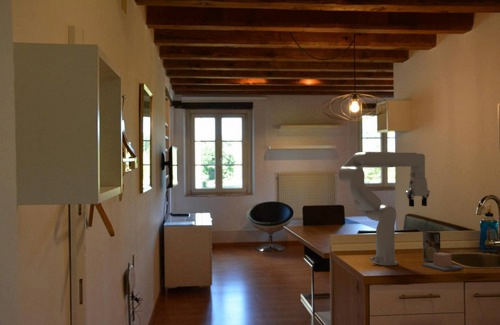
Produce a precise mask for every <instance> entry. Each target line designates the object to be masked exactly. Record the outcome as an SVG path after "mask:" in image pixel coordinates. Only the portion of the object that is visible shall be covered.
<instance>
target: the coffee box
mask: <svg viewBox="0 0 500 325" xmlns="http://www.w3.org/2000/svg"><path fill="white" fill-rule="evenodd" d="M441 252H442V250H441V232H440V231H438V230H437V231H436V230H435V231H433V230H432V231H431V230H423V231H422V261H423V262H433V253H441Z"/></svg>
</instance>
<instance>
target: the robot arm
mask: <svg viewBox="0 0 500 325" xmlns="http://www.w3.org/2000/svg"><path fill="white" fill-rule="evenodd" d="M397 167H398V168H399V167H404V168H405V167H408V168H409V167H410V174H409V176H410V178H409V182H408V189H407V190H405V195H406V197H407V199H408V207H413V208H414V207H415V199H414V198H415V197H421V206H422V207H427V205H428V201H427V200H428V199H429V196H430V192H431V191H430V190H429V189H428V182H427V178H426V156H425V154H424V153H418V152H398V151H397V152H394V151H360V152H355V153H354V154H353V155H352V156H351V157H350V158H349V159H348V160H347V161H346V162H345V163H344V164H343V165H342V166H341V167H340V169H339V170H338V179H340V181H342V182H344V183H349V184H350V186H349V187H350V188H349V189H350V194H351V195H352V197H353V198H354V199H353V202H354V206H355V207H356V208H357V210H359V212H361V213H362V214H363V215H365V217H367V218H368V219H370V220H372V221H374V222H377V226H376V230H375V232H376V233H375V238H376V239H375V245H376V248H375V249H376V251H375V252H376V254H374V256H370V257H369V258H368V259H369V261H371V262H373V264H374V265H375V264H376V265H380V266H387V267H388V266H389V267H391V266H398V264H399V261H397V260H396V258H395V256H396V254H395V253H396V252H395V250H396V248H395V247H396V246H395V243H396V242H395V237H396V234H395V230H396V226H395V225H396V220H397V211H396V209H395V207H393V206H392V205H390V204H384V203H383V204H382V201H381V199H380V197H379V196H378V195H376V193H375V192H373V191H372V190H370V188H369V187H368V186H366V184H365V176H366V175H365V171H364V170H363V168H365V169H366V168H367V169H368V168H369V169H370V168H376V169H377V168H380V169H381V168H384V169H385V168H397Z"/></svg>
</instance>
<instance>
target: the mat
mask: <svg viewBox="0 0 500 325" xmlns="http://www.w3.org/2000/svg"><path fill="white" fill-rule="evenodd" d="M421 267H425V268H428V269H433V270H437V271H441V272H451V271H457V270H458V269H459V270H464V269H463V268H464V266H462V265H457V264H452V263H451V266H448V267H440V266H436V265H433V262H427V263H422V264H421Z"/></svg>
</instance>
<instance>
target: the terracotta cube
mask: <svg viewBox="0 0 500 325" xmlns="http://www.w3.org/2000/svg"><path fill="white" fill-rule="evenodd" d="M432 263H433V265H436V266H440V267H448V266H451V264H452V254H451V253H446V252H442V251H441V253H433V261H432Z"/></svg>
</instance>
